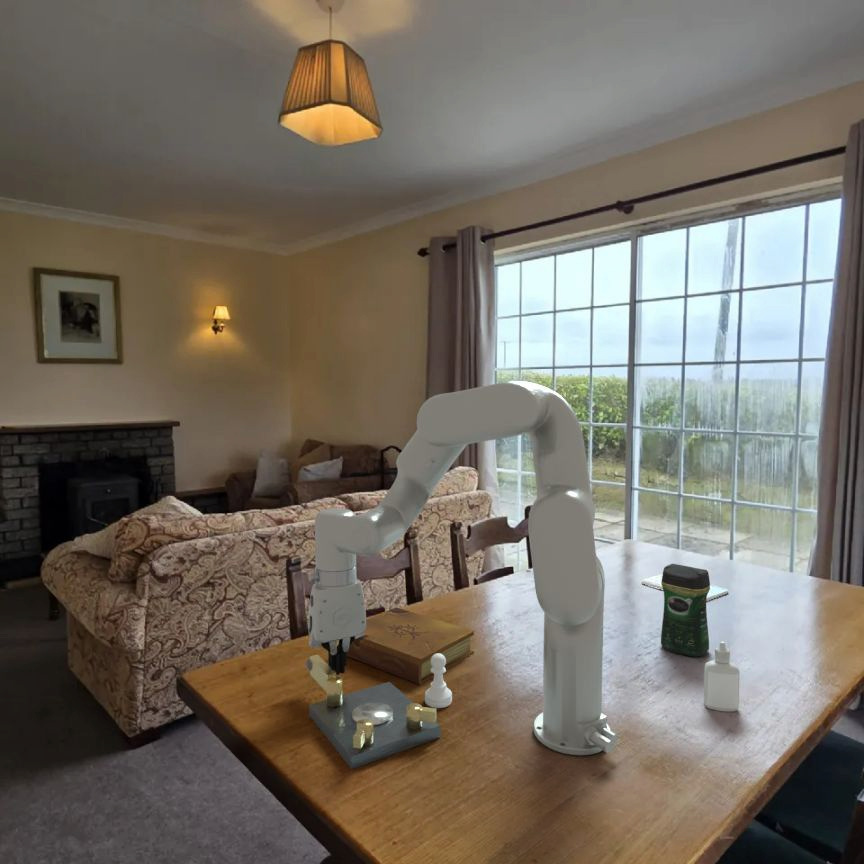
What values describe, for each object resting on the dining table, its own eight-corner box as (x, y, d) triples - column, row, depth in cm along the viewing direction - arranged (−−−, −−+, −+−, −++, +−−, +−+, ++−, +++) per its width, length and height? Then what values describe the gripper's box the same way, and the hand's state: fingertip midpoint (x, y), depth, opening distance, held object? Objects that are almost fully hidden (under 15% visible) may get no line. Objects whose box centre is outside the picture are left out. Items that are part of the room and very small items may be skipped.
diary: (338, 657, 133) (338, 631, 133) (396, 630, 147) (395, 607, 147) (419, 688, 119) (418, 659, 118) (474, 655, 133) (474, 629, 133)
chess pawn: (420, 705, 111) (420, 657, 110) (430, 692, 116) (430, 646, 115) (446, 710, 109) (446, 662, 109) (455, 697, 114) (455, 650, 113)
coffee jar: (713, 650, 134) (715, 567, 133) (699, 661, 128) (701, 575, 127) (670, 637, 141) (671, 558, 139) (655, 648, 135) (656, 566, 134)
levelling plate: (441, 738, 100) (441, 709, 100) (352, 771, 92) (352, 739, 92) (389, 691, 116) (389, 666, 116) (309, 715, 108) (308, 688, 107)
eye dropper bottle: (733, 717, 107) (735, 650, 106) (700, 706, 110) (702, 641, 109) (741, 707, 110) (743, 642, 109) (708, 697, 114) (710, 634, 113)
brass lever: (345, 703, 108) (344, 677, 107) (330, 708, 106) (329, 681, 106) (317, 674, 119) (317, 650, 118) (304, 678, 117) (303, 653, 117)
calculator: (666, 577, 188) (667, 571, 187) (730, 595, 171) (730, 588, 171) (639, 585, 180) (640, 579, 180) (703, 604, 164) (703, 597, 163)
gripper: (304, 588, 106) (306, 690, 108) (381, 574, 114) (382, 669, 115) (290, 577, 113) (292, 673, 114) (364, 564, 120) (365, 654, 122)
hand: (337, 671), depth 115 cm, fingers closed
